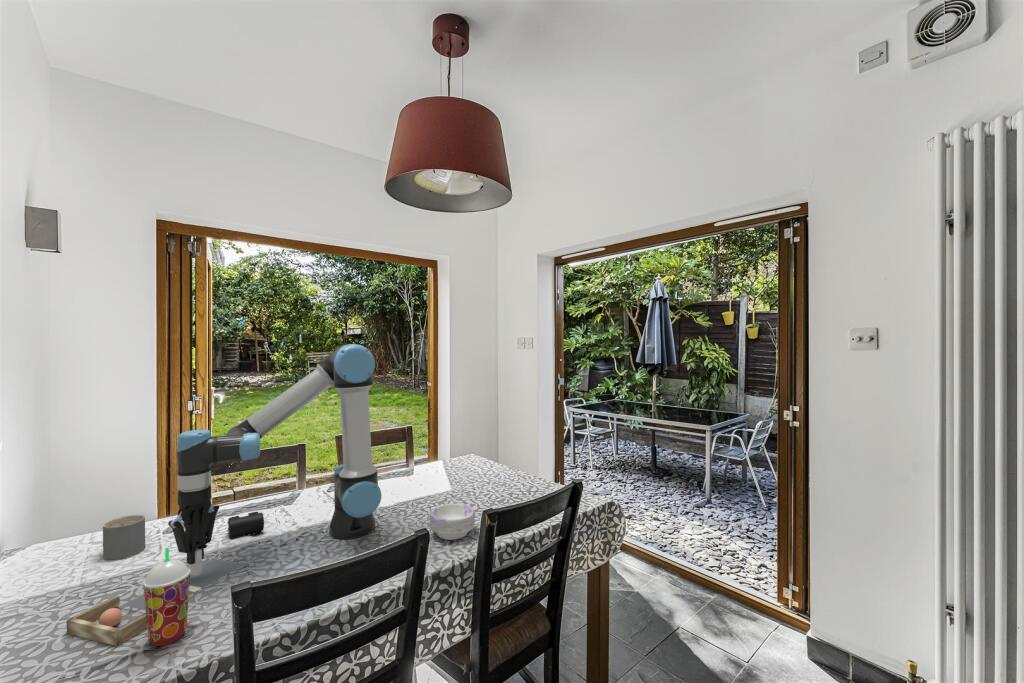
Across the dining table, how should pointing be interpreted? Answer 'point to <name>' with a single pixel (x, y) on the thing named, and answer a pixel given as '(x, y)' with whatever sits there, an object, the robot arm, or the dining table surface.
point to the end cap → (245, 525)
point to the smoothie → (166, 600)
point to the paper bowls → (452, 520)
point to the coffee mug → (123, 537)
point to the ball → (110, 617)
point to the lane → (197, 579)
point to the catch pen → (101, 633)
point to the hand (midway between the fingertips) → (195, 573)
